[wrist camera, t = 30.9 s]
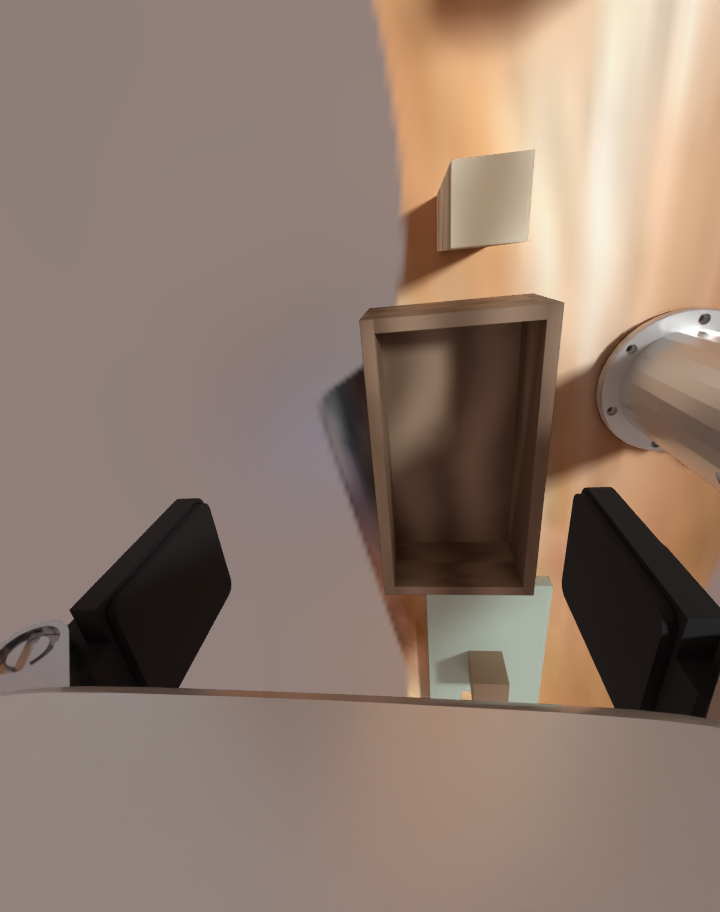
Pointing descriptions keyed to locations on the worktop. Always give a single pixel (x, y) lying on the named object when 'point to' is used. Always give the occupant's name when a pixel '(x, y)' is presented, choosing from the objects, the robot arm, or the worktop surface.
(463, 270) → the worktop surface
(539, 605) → the lid
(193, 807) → the robot arm
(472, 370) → the brown open box
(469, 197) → the block
